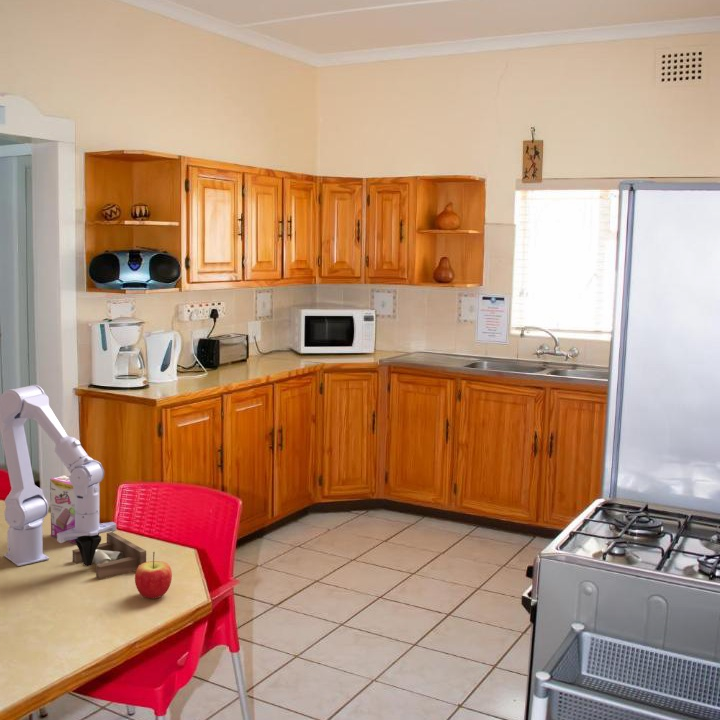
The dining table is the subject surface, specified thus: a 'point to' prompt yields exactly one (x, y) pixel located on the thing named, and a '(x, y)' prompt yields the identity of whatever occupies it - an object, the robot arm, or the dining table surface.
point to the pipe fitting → (106, 556)
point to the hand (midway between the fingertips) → (87, 564)
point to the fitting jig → (129, 563)
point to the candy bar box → (62, 505)
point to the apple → (153, 578)
